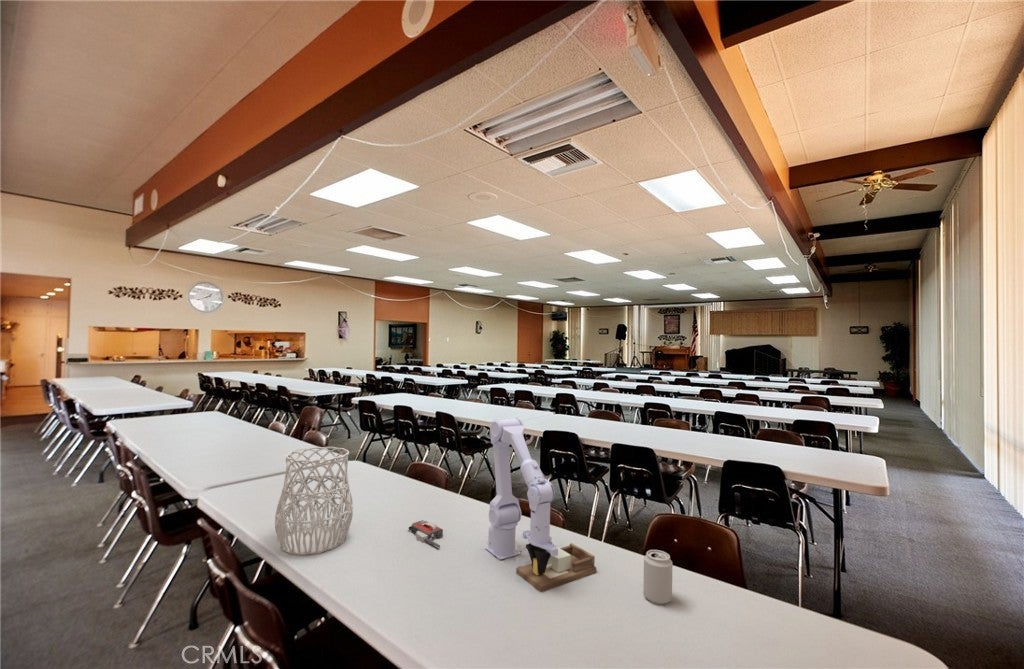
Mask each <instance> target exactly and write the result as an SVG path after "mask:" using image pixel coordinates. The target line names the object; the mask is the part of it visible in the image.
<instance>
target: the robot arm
mask: <svg viewBox="0 0 1024 669" xmlns="http://www.w3.org/2000/svg"><path fill="white" fill-rule="evenodd" d="M489 432H490V433H489V434H490V444H492V448H493V450H492V451H493V461H494V473H495V474H494V476H495V477H494V478H495V489H496V490H495V491H496V495H495V497H494V498H493V499H492V500H490V502H489V511H488V519H489V520H488V521H489V522H490V525H489V527H488V537H487V538H488V542H487V546H485V550H487V551H488V552H489V553H491V555H493V556H494V557H496V558H498V560H501V561H502V560H505V559H509V558H512V557H516V556H519V555H521V552H520V551H519V550H517V549H516V529H517V526H518V523H519V522H520V521H521V519H522V510H521V507H520V501H519V499H518V498H517V497H516V496H514V495H513V489H512V474H511V462H510V461H511V460H510V450H509V447H510V446H511V447H512V449H513V450H514V452H515V454H516V456H517V458H518V460H519V461H520V464H521V465H520V468H519V469H520V472H521V474H522V478H523V479H524V482H525V484H526V486H527V489H528V490H527V491H526V495H527V499H528V504H529V509H530V526H529V528H530V530H529V529H527V530H522V538H523V539H525V540H526V539H527V541H528V542H529V543H527V544H525V549H526V550H527V552H528V555H529V558H530V564H531V563H532V568H533V558H537V569H538V574H543V573H545V570H546V566H547V563H548V561H549V558H550V556H552V557H553V556H556V555H558V548H559V547H558V548H557V546H556V545H555V544H554V543H553V541H552V539H553V537H552V536H550V534H551V532H550V529H551V528H550V526H551V525H550V524H551V502H552V501H554V499H555V497H556V492H555V488H554V485H553V483H552V482H551V481H549V480H548V479H547V478H545V476H544V474H543V472H542V470H541V468H540V465H539V463H538V462H537V460H534V459H532V457H531V453H530V451H529V448H528V445H527V443H526V440H525V437H524V434H525V426H524V423H523V421H522V420H521V419H520V418H519V417H514V418H504V419H502V418H501V419H494V420H493V421H492V423H491V425H490V426H489Z"/></svg>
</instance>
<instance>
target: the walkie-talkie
mask: <svg viewBox="0 0 1024 669" xmlns="http://www.w3.org/2000/svg"><path fill="white" fill-rule="evenodd" d="M408 530H409V531H411V533H413V534H414V533H415V534H414V535H415V536H416V540H417V541H419V540H420V542H421V543H428V544H430V545H431V546H435V547H437V548H441V546H440V544H438V543H437V542H435V541H433V540H437V539H441V538H442V537H443V536H444V535H443V534H444V533H443V532H444V529H443V528H441V527H439V526H438V525H437V524H435V523H433V522H431V521H429V522H428V521H427V520H423V519H422V520H419V521H416V522H415V521H414V522H413V523H412V524H411V526H408Z"/></svg>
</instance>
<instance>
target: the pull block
mask: <svg viewBox="0 0 1024 669" xmlns="http://www.w3.org/2000/svg"><path fill="white" fill-rule="evenodd" d="M556 547H557V546H556ZM557 548H558V555H556V556H553V557H552V556H550V558H549V561H548V563H547V566H546V568H548V567H550V568H551V569H553V570H554V571H556V572H557V573H559V572H562V571H565V570H568V569H571V555H570V554H568V553H567V552H565V551H563V550H562V549H560V548H561V547H559V546H558V547H557ZM533 573H535V574H536V575H539V574H538V569H537V558H533Z"/></svg>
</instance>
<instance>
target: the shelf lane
mask: <svg viewBox="0 0 1024 669" xmlns="http://www.w3.org/2000/svg"><path fill="white" fill-rule="evenodd" d="M559 548H560V549H562V550H563V551H565V552H567V553H568V554H570V555H571V569H568V570H565V571H562V572H559V573H557V572H556V571H554V570H553V569H551V568H550V567H548V568H546V570H545V573H543V574H539V575H536V574H535V573H533V568H532V563H531V562H530V563H528V564H525V565H522V566H518V567H516V568H515V570H516V571H515V573H516V575H518V576H519V577H521V578H522V579H523V580H524V581H525V582H527V583H528V584H529V585H531V586H532V587H533V588H535V589H536V590H537V591H538V592H540V593H543V592H545V591H548V590H550V589H554V588H556V587H559V586H561V585H564V584H567V583H570V582H573V581H576V580H578V579H582V578H584V577H587V576H590V575H592V574H595V573H597V566H595V562H596V561H595V557H596V556H595V555H593V554H591V552H590V553H589V552H588V551H587V550H584V549H583V548H581V547H579V546H577V545H576V544H574V543H572V542H571V543H569V545H567V546H563V547H559Z"/></svg>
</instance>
